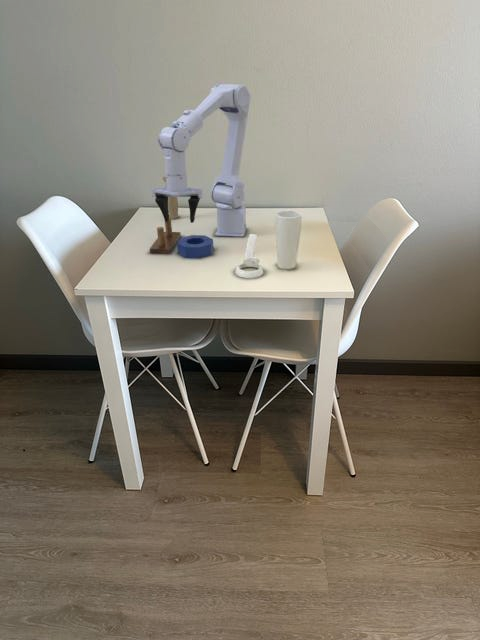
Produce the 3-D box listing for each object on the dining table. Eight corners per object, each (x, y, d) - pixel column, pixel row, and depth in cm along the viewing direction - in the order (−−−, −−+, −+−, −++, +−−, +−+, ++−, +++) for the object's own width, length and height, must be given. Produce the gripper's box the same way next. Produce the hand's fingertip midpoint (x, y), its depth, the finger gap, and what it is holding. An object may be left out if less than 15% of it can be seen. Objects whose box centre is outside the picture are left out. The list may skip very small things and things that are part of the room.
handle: (170, 221, 166) (166, 178, 158) (164, 216, 171) (160, 174, 163) (183, 219, 168) (179, 176, 160) (176, 214, 173) (173, 172, 165)
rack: (180, 236, 152) (179, 215, 149) (169, 254, 140) (167, 231, 136) (162, 235, 153) (160, 215, 149) (150, 253, 140) (147, 231, 137)
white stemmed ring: (267, 243, 132) (271, 237, 125) (259, 284, 131) (263, 280, 124) (241, 237, 131) (243, 231, 124) (233, 279, 130) (235, 275, 123)
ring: (215, 246, 145) (214, 235, 143) (209, 258, 136) (208, 247, 134) (183, 245, 146) (182, 234, 144) (175, 257, 137) (174, 246, 135)
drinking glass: (292, 273, 127) (294, 219, 119) (270, 267, 130) (271, 215, 122) (302, 264, 132) (305, 212, 124) (281, 259, 135) (283, 208, 127)
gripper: (146, 176, 127) (151, 224, 134) (198, 177, 125) (201, 226, 132) (154, 170, 133) (158, 217, 140) (203, 171, 131) (206, 218, 138)
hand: (179, 221), depth 136 cm, fingers open, 7 cm apart
